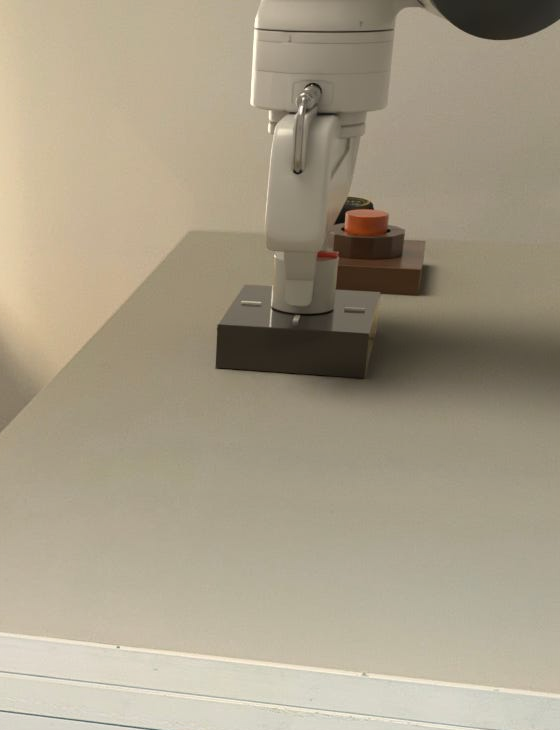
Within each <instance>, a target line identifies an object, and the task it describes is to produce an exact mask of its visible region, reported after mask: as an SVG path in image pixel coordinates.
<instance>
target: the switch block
mask: <svg viewBox="0 0 560 730" xmlns="http://www.w3.org/2000/svg"><path fill="white" fill-rule="evenodd" d="M344 227H345V223H341V224H336V225H333V227H332V229H331V231H330V233H329V236H328V242H327V247H326V251H333V252H339V262H338V273H337V285H336V290H352V291H369V292H380V295H393V296H395V295H396V296H411V297H418V296H419V292H420V288H421V287H420V285H421V281H422V280H421V279H422V273H423V269H424V268H423V267H424V260H425V259H424V258H425V251H426V244H427V242H426V240H415V239H405V236H406V229H405V228H401V227H400V226H397V225H392V224H388V229H387V233H385V234H374V235H365V234H353V233H347V232H344Z"/></svg>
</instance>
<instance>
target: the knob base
mask: <svg viewBox="0 0 560 730" xmlns="http://www.w3.org/2000/svg"><path fill="white" fill-rule="evenodd" d="M271 295H272V285H262V284H261V285H260V284H244V285H243V286H242V288H240V291H239V292H238V294H237V295H236V297H234V299H233V301H232V302H231V304H230V305H229V307H228V308H227V310H226V311H225V313H224V314H223V315H222V317H221V319H220V320H219V321H218V323H217V325H216V346H215V368H216V369H229V370H240V371H241V370H243V371H254V372H255V371H256V372H257V371H258V372H269V373H270V372H272V373H283V374H284V373H285V374H286V373H287V374H297V375H298V374H299V375H313V376H327V377H339V378H341V377H342V378H355V379H356V378H357V379H366V375H367V371H368V367H369V363H370V359H371V355H372V351H373V348H374V343H375V339H376V336H377V331H378V322H379V313H380V312H379V311H380V304H381V303H380V302H381V294H380V292H369V291H352V290H336V296H335V307H334V309H333V310H331V311H328V312H324V313H318V314H295V313H287V312H283V311H279V310H276V309H274V308H273V307H272V306H271Z"/></svg>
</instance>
